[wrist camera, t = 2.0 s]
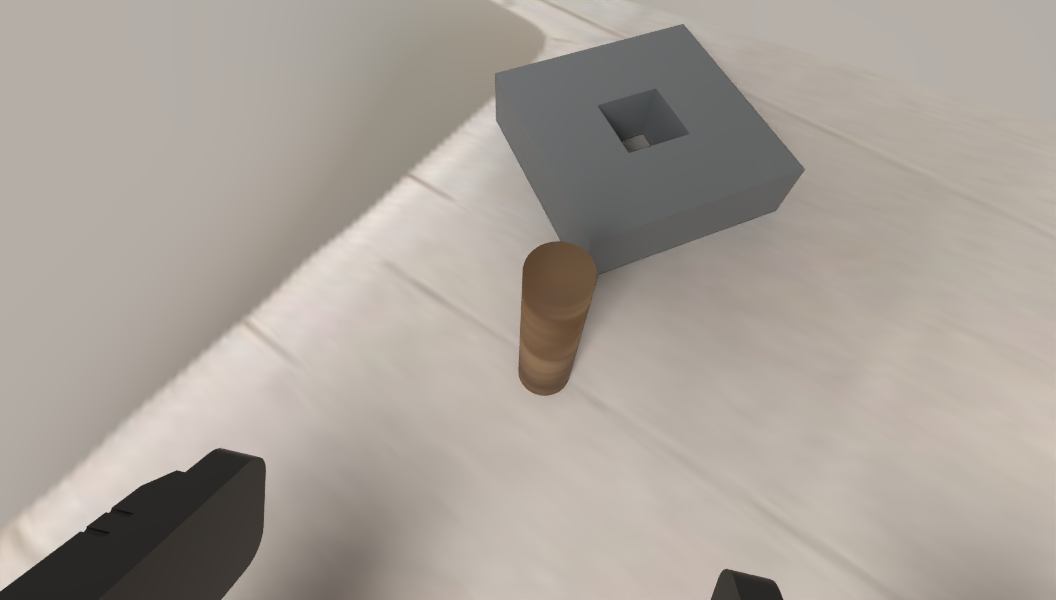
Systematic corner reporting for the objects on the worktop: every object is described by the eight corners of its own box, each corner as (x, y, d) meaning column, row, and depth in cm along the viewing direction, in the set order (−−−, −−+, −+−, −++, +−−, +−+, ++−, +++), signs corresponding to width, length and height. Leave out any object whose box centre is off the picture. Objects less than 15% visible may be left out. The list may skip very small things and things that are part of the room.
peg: (556, 340, 35) (577, 232, 24) (578, 384, 34) (610, 290, 23) (510, 357, 34) (511, 255, 24) (530, 403, 33) (540, 316, 22)
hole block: (668, 71, 47) (683, 24, 43) (775, 210, 40) (805, 169, 36) (496, 120, 44) (494, 73, 40) (581, 280, 37) (590, 243, 33)
